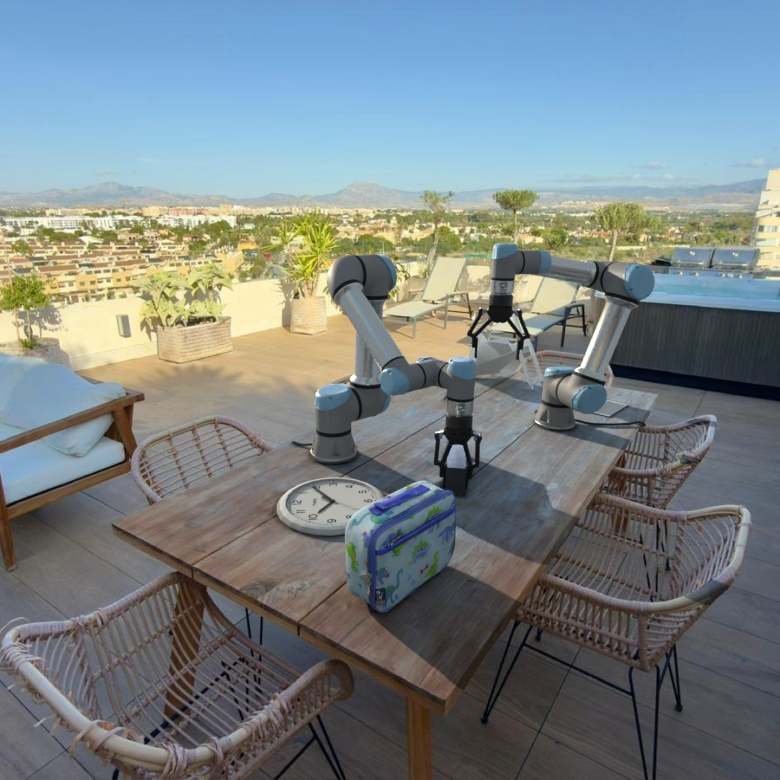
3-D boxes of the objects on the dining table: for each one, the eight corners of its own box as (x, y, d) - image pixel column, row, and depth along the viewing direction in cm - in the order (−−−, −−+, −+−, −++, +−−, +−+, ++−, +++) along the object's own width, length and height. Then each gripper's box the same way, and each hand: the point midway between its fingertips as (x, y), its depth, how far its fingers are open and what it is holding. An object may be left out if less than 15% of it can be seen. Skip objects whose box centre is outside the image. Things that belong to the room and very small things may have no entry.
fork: (440, 400, 230) (440, 396, 230) (449, 390, 245) (449, 386, 244) (446, 401, 230) (446, 396, 229) (454, 391, 244) (455, 387, 243)
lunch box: (374, 626, 100) (375, 530, 93) (338, 598, 107) (337, 508, 101) (459, 568, 117) (465, 484, 111) (424, 547, 124) (427, 467, 118)
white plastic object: (480, 418, 266) (459, 395, 242) (461, 346, 288) (441, 318, 264) (550, 394, 254) (536, 368, 229) (526, 321, 276) (510, 289, 251)
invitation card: (608, 416, 214) (573, 407, 224) (608, 416, 214) (573, 408, 224) (628, 404, 229) (594, 396, 238) (628, 405, 229) (594, 397, 238)
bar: (446, 453, 177) (447, 429, 174) (463, 454, 176) (464, 430, 174) (444, 495, 149) (446, 467, 147) (464, 496, 149) (466, 468, 146)
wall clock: (392, 527, 129) (268, 531, 127) (391, 533, 130) (269, 537, 127) (383, 473, 158) (282, 475, 155) (383, 478, 158) (282, 480, 156)
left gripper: (425, 415, 143) (422, 491, 150) (494, 419, 141) (488, 496, 148) (426, 406, 150) (423, 479, 157) (492, 410, 148) (486, 483, 155)
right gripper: (462, 293, 165) (458, 359, 171) (543, 296, 162) (536, 362, 168) (461, 291, 172) (458, 353, 178) (539, 293, 169) (533, 357, 175)
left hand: (454, 487), depth 153 cm, fingers closed on bar, 6 cm apart
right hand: (496, 358), depth 173 cm, fingers open, 13 cm apart
